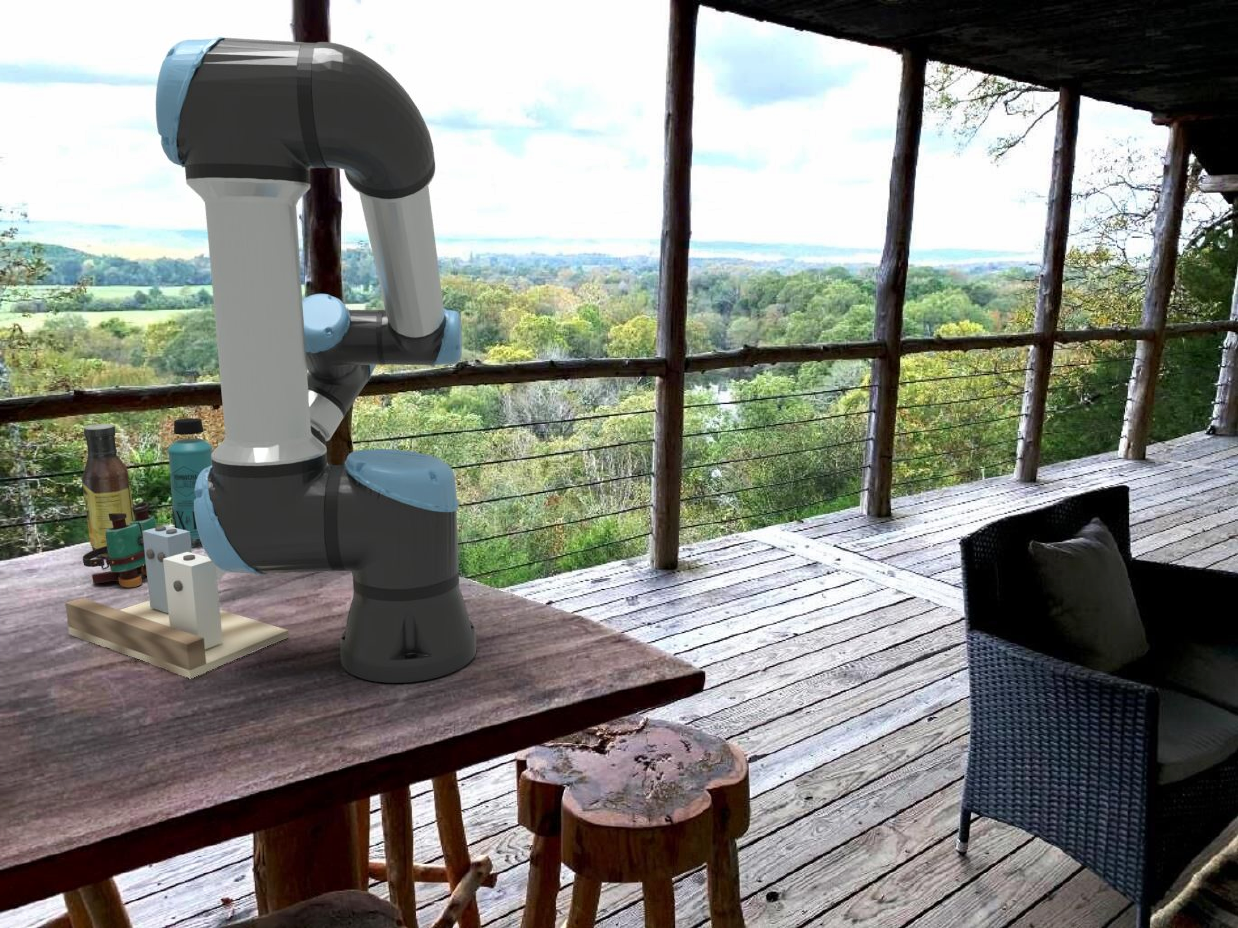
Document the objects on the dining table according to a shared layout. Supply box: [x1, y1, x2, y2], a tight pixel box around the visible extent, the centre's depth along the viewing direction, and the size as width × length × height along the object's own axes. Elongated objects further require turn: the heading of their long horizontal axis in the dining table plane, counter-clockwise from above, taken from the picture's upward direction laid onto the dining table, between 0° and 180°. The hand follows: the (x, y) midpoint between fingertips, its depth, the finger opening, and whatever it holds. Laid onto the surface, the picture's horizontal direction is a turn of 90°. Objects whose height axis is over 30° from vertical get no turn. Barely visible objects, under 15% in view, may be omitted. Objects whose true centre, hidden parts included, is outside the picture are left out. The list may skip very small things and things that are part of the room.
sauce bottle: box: [81, 423, 136, 558], centre depth 137 cm, size 7×6×20 cm
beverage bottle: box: [167, 417, 213, 541], centre depth 143 cm, size 6×7×20 cm
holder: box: [65, 597, 290, 680], centre depth 108 cm, size 23×13×4 cm, turn 60°
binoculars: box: [82, 501, 157, 588], centre depth 127 cm, size 9×11×10 cm
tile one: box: [163, 552, 223, 649], centre depth 103 cm, size 5×3×10 cm, turn 60°
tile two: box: [142, 525, 193, 613], centre depth 113 cm, size 5×3×10 cm, turn 60°
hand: (209, 574), depth 118 cm, fingers closed
